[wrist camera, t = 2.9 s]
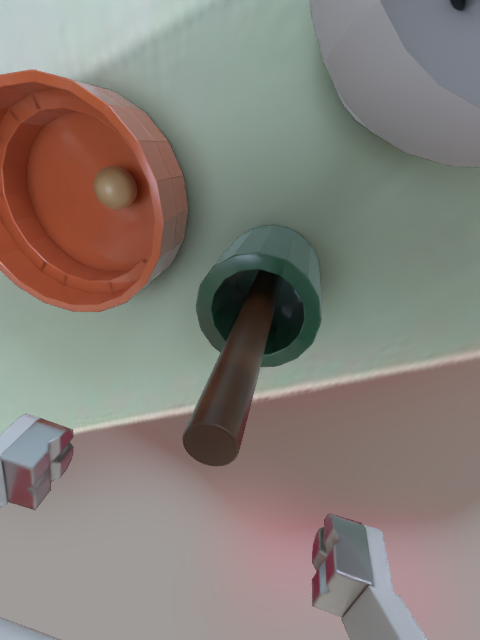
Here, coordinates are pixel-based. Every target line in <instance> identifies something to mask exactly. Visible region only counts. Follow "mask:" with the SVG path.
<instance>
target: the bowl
mask: <svg viewBox="0 0 480 640" xmlns="http://www.w3.org/2000/svg"><path fill="white" fill-rule="evenodd" d="M108 166H117V167H121V168H123V169H125V170H126V171H128V172H129V173H130V174H131V175H132V177H133V178H134V180H135V182H136V186H137V195H136V198H135V200H134V202H133V203H132V204H131V205H130V206H129V207H127V208H125V209H122V210H114V209H110V208H108V207H106V206H104V205H103V204H102V203H101V202H100V201H99V200H98V198H97V197H96V195H95V192H94V187H93V183H94V179H95V176H96V174H97V173H98V172H99V171H100V170H101V169H103V168H105V167H108ZM187 216H188V203H187V196H186V189H185V182H184V176H183V173H182V171H181V168H180V166H179V164H178V162H177V159H176V157H175V155H174V152H173V150H172V148H171V145H170V143H169V141H168V140H167V139H166V137H165V136H164V135H163V134H162V133H161V131H160V130H159V129H158V128H157V126H156V125H155V124H154V123H153V121H152V120H151V119H150V118H149V116H148V115H147V114H146V113H145V112H144V111H143V110H141V109H140V108H138V107H137V106H135V105H134V104H132V103H131V102H129V101H128V100H127V99H125V98H124V97H122V96H121V95H119V94H118V93H116V92H114V91H111V90H108V89H104V88H100V87H97V86H93V85H90V84H86V83H82V82H79V81H75V80H71V79H68V78H64V77H60V76H56V75H52V74H49V73H45V72H41V71H37V70H26V71H20V72H13V73H7V74H1V75H0V270H1V271H2V272H3V273H4V274H5V275H6V276H7V277H8V278H9V279H10V280H11V281H12V282H13V283H14V284H15V285H17V286H18V287H20V288H21V289H23V290H24V291H26V292H28V293H29V294H31V295H33V296H34V297H36V298H38V299H39V300H41V301H42V302H45V303H47V304H51V305H54V306H57V307H60V308H63V309H67V310H70V311H81V312H100V311H104V310H107V309H109V308H112V307H115V306H118V305H121V304H123V303H126V302H127V301H128V300H130V299H131V298H132V297H133V296H135V295H136V294H137V293H138V292H139V291H141V290H142V289H143V288H144V287H146V286H147V285H148V284H149V283H150V282H152V281H153V280H154V279H155V278H156V277H157V276H159V275H160V274H161V273H162V272H163V271H164V270H165V269H166V268H168V267H169V266H170V265H171V264H172V262H173V260H174V258H175V256H176V254H177V252H178V250H179V248H180V246H181V245H182V243H183V240H184V235H185V229H186V222H187Z"/></svg>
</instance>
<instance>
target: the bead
mask: <svg viewBox="0 0 480 640" xmlns="http://www.w3.org/2000/svg"><path fill="white" fill-rule="evenodd" d="M93 187H94V192H95V195H96V197H97V198H98V200H99V201H100V202H101V203H102V204H103V205H104V206H106V207H108V208H110V209H114V210H122V209H125V208H127V207H129V206H130V205H131V204H132V203H133V202H134V200H135V198H136V195H137V186H136V182H135V180H134V178H133V177H132V175H131V174H130V173H129V172H128V171H126V170H125V169H123V168H121V167H117V166H108V167H105V168H103V169H101V170H100V171H99V172H98V173H97V174H96V176H95V179H94V183H93Z"/></svg>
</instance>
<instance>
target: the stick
mask: <svg viewBox="0 0 480 640" xmlns="http://www.w3.org/2000/svg"><path fill="white" fill-rule="evenodd" d="M282 280H283V278H282V277H281V276H279V275H277V274H274V273H270V272H267V271H263V270H260V269H259V271H258V274H257V276H256V278H255V280H254V282H253V284H252V286H251V289H250V291H249V293H248V295H247V297H246V299H245V302H244V304H243V306H242V308H241V310H240V312H239V315H238V317H237V319H236V321H235V323H234V325H233V327H232V330H231V332H230V334H229V336H228V338H227V340H226V343H225V345H224V347H223V349H222V351H221V353H220V356H219V358H218V360H217V362H216V364H215V366H214V368H213V371H212V373H211V375H210V377H209V379H208V381H207V384H206V386H205V388H204V390H203V392H202V394H201V397H200V399H199V401H198V403H197V405H196V407H195V409H194V412H193V414H192V416H191V418H190V420H189V422H188V425H187V427H186V429H185V431H184V434H183V444H184V447H185V449H186V451H187V452H188V453H189V455H190V456H192V457H193V458H194V459H195V460H197V461H199V462H201V463H203V464H206V465H210V466H224V465H227V464H229V463H231V462H232V461H234V459H235V458H236V457H237V455H238V453H239V449H240V445H241V441H242V438H243V433H244V430H245V425H246V422H247V417H248V413H249V410H250V406H251V402H252V398H253V394H254V390H255V386H256V382H257V378H258V374H259V370H260V367H261V363H262V359H263V355H264V351H265V347H266V343H267V339H268V335H269V331H270V327H271V323H272V319H273V315H274V311H275V307H276V303H277V299H278V295H279V292H280V288H281V284H282Z"/></svg>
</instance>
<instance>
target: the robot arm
mask: <svg viewBox="0 0 480 640" xmlns="http://www.w3.org/2000/svg"><path fill="white" fill-rule="evenodd" d="M72 438H73V429H70V428H67V427H64V426H61V425H59V424H56V423H53V422H50V421H47V420H44V419H42V418H39V417H36V416H33V415H30V414H27V413H26V414H24V415H22V416H20V417H19V418H18V419H16V420H15V421H14V422H13V423H12V424H11V425H10V426H9V427H8V428H7V429H5V430H4V431H3V432H2V433H1V434H0V508H1V507H3V506H4V505H6V504H7V503H8V502H10V503H13V504H17V505H20V506H23V507H27V508H30V509H33V510H36V509H37V507H38V506H39V505H40V503H41V502H42V501H43V500H44V498H45V497H46V496H47V494H48V493H49V492H50V491H51V482H52V481H54V480H56V479H58V478H60V477H61V476H62V475H63V474H64V472H65V471H66V469H67V468H68V466H69V464H70V462H71V459H72V456H73V446H72V444H71V443H70V441H71V439H72ZM312 563H313V565H314V567H315V569H316V571H317V572H316V574H315V576H314V578H313V579H312V606H313V607H316V608H319V609H321V610H324V611H326V612H329V613H332V614H334V615H337V616H340V617H342V622H343V624H344V626H345V629H346V631H347V634H348V636H349V638H350V640H428V639H427V638H426V636H425V635H424V634H423V631H422V630H421V628H420V627H419V625H418V624H417V622H416V621H415V619H414V617H413V616H412V614H411V613H410V611H409V610H408V608H407V606H406V605H405V604H404V602H403V600H402V599H401V597H400V596H399V595H396V594H394V590H393V585H392V579H391V574H390V569H389V564H388V558H387V553H386V548H385V542H384V537H383V533H382V532H381V530H379V529H377V528H373V527H370V526H367V525H363V524H362V523H359V522H356V521H353V520H350V519H347V518H343V517H340V516H337V515H333V514H328V515H327V516H326V518H325V520H324V527H323V528H320V529H319V530H318V532H317V534H316V536H315V540H314V543H313V552H312ZM0 640H61V639H58V638H55V637H52V636H49V635H47V634H44V633H41V632H39V631H36V630H34V629H31V628H28V627H25V626H23V625H19V624H17V623H15V622H12V621H9V620H6V619H4V618H1V617H0Z"/></svg>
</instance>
